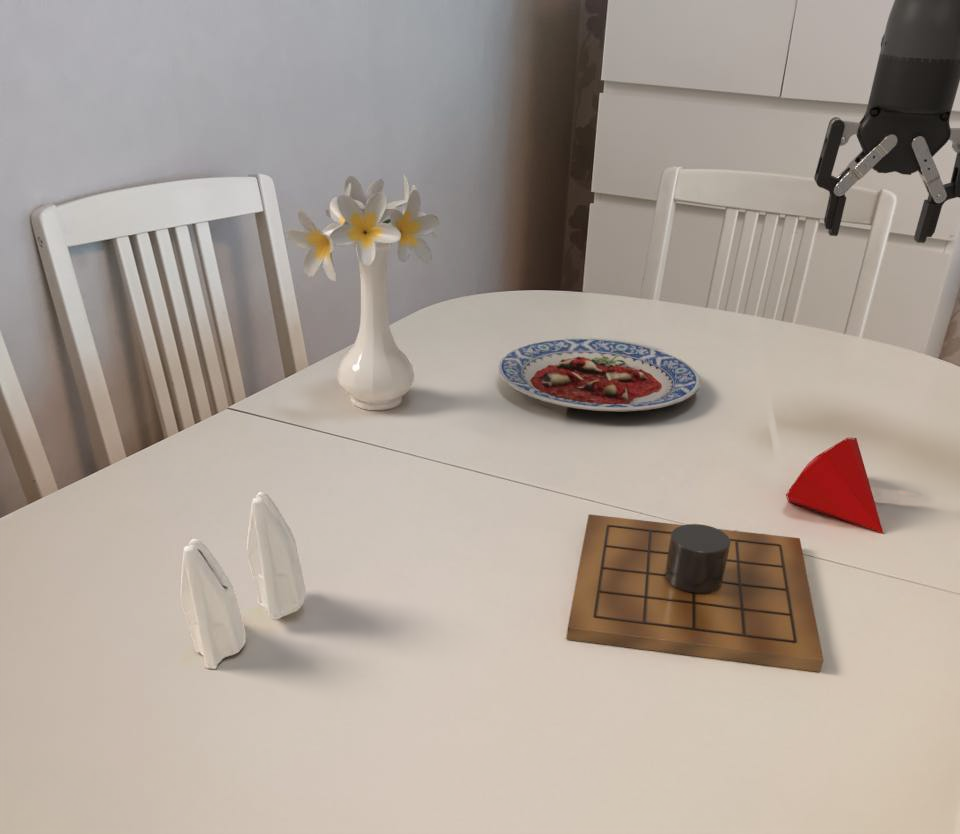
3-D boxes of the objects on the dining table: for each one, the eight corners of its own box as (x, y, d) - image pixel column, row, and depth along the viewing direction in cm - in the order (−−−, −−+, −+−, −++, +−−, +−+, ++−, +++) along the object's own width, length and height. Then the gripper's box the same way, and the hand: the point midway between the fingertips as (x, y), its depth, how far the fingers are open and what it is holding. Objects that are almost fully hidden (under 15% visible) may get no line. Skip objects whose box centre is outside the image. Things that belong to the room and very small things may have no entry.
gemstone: (924, 505, 97) (854, 436, 100) (916, 497, 90) (841, 423, 93) (854, 566, 101) (788, 498, 104) (841, 563, 93) (770, 490, 96)
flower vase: (285, 416, 114) (266, 185, 100) (375, 371, 127) (369, 162, 113) (377, 441, 109) (370, 202, 95) (460, 392, 122) (465, 176, 108)
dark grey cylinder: (721, 567, 86) (729, 527, 84) (723, 596, 82) (731, 555, 80) (664, 560, 87) (671, 520, 84) (663, 589, 83) (670, 548, 80)
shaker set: (289, 588, 83) (278, 469, 77) (324, 605, 81) (316, 485, 75) (176, 651, 75) (154, 524, 69) (212, 671, 73) (193, 543, 67)
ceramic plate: (648, 444, 111) (652, 419, 109) (459, 394, 122) (460, 371, 120) (725, 380, 129) (730, 358, 128) (555, 342, 140) (557, 321, 138)
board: (797, 549, 92) (800, 536, 91) (820, 672, 76) (824, 658, 75) (587, 525, 94) (588, 512, 94) (566, 639, 78) (567, 626, 77)
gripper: (849, 50, 87) (807, 240, 96) (1015, 59, 85) (957, 252, 94) (838, 45, 93) (800, 224, 102) (994, 53, 91) (941, 235, 100)
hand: (875, 237), depth 98 cm, fingers open, 8 cm apart
